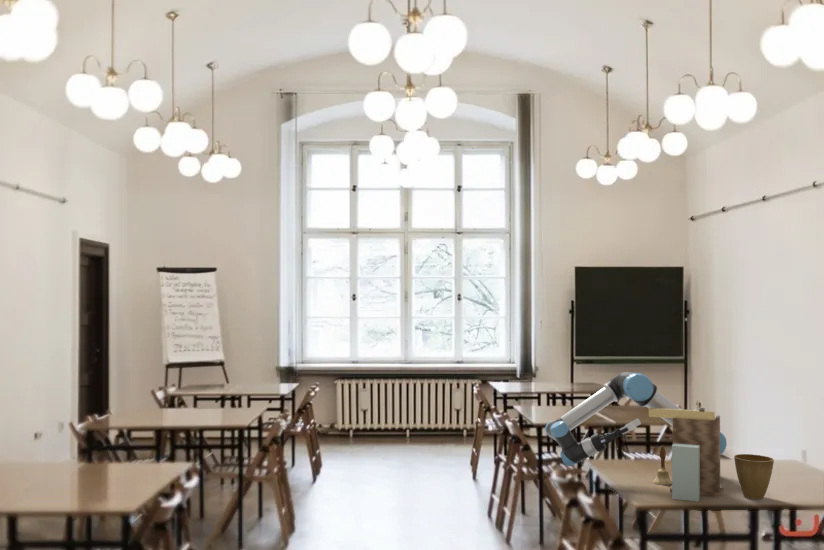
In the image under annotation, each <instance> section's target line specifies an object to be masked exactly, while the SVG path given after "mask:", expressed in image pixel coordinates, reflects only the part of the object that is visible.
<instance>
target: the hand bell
mask: <svg viewBox="0 0 824 550" xmlns="http://www.w3.org/2000/svg"><path fill="white" fill-rule="evenodd" d="M659 449H660V450H659V458H660V468H659V469H658V470H657V474H656V476H655V479H653V481H652V483H653V484H655V483H656V485H660V484H663V486H671V485H672V479H671V477H670V475H669V470H667V469H666V464H665V461H666V455H667V453H666V448H665V446H664V445H661V446H660V448H659ZM670 484H671V485H670Z"/></svg>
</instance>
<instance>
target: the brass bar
mask: <svg viewBox="0 0 824 550" xmlns="http://www.w3.org/2000/svg"><path fill="white" fill-rule="evenodd" d="M715 415H716V413H715V410H706V409H705V408H704V407H698V409H695V410H694V409H682V408H681V409H665V408H648V417H649V418H661V419H662V418H677V419H693V420H709V421H714V420H715V419H716V417H715Z"/></svg>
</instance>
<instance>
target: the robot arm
mask: <svg viewBox="0 0 824 550" xmlns="http://www.w3.org/2000/svg"><path fill="white" fill-rule="evenodd" d="M624 398H628V399H630V400H631V401H632V402H634V403H635V404H637V405H638V406H639V407H641V408H645V407H646V408H648V409H649V408H665V409H682V408H680V407H679V406H678V405H677V404H675V403H674V402H672V401H671V400H670V399H669V398H668V397H666V396H665V395H664V394H662V393H661V392H659V390H658V386H657V385H656V384H655V383H653V382H652V380H651V379H650V378H649V377H648V376H647V375H645V374H644V373H641V372H632V371H623V372H620V373H618V374H617V375H615V376H614V377H612V378H611V379H610V380H608V381H607V382H605V383H604V384H603V387H602V388H601V389H599V390H598V391H596V393H594V394H592V395H591V396H589V397H588V398H587V399H585V400H583V401H582V402H580V403H579V404H577V405H576V406H574V407H573V408H572V409H570V410H569V411H567V412H566V413H565V414H563V415H561V417H558V418H556V420H554V421H549V422H547V423H546V425H545V427H544V432H545V434H546V436H548V437H549V438H550V439H552V440H554V441H555V442H557V444H558V445H559V447H560V448H561V451H560V454H559V455H560V458H561V460H562V462H563V464H564V465H565V466H566V467H572V466H573V465H577V464H578V463H580V462H582V461H585V460H586V459H588V458H590V457H594V456H595V455H596V454H598V453H600V452H601V453H602V451H604V450H606V449H607V444H610V443H611V442H612V441H614V440H615V439H617V438H619V437H620V438H623V437H624V435H625V434H627V433H629V432H632V431H634V430H636V429H637V428H638V426H640V425H642V422H641V420H640V419H639V418H636V419H634V420H631V421H630V422H628V423H626V424H625V423H623V424H622V426H620V427H619V428H617V429H614V430H611V431H609V432H606V433H604V434H603V436H601V434H600V433H595V434H593V435H591V436H590V437H589V436H588V437H586V438H584V439H583V440H581V441H577V439H576V437H575V436H574V434H573V433H572V432H571V431H572V430H574V429H576V428H577V427H578V426H579V425H581V424H582V423H584V422H585V421H587V420H588V419H590V418H591V417H593V416H594V415H596V414H597V413H599V412H600V411H602V410H603V409H604V408H605V407H607V406H608V405H610V404H612V403H613V402H616V403H617V402H619V401H620V400H622V399H624ZM661 419H663V421H664V422H666V423H668V424H669V425H670V426H671V427H673V418H661ZM606 443H607V444H606ZM726 449H727V438H726V436H725V435H724V434H723V433H722V432H721V431H720V456H721V455H722V454H723V453H724V452H725V451H726Z"/></svg>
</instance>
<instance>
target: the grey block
mask: <svg viewBox="0 0 824 550" xmlns="http://www.w3.org/2000/svg"><path fill="white" fill-rule="evenodd" d="M671 481H672V484H671V486H672V493H671V499H672V500H679V501H680V500H681V501H691V502H699V501H700V498H701V495H700V445H692V444H678V443H674V444H673V443H672V445H671Z"/></svg>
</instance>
